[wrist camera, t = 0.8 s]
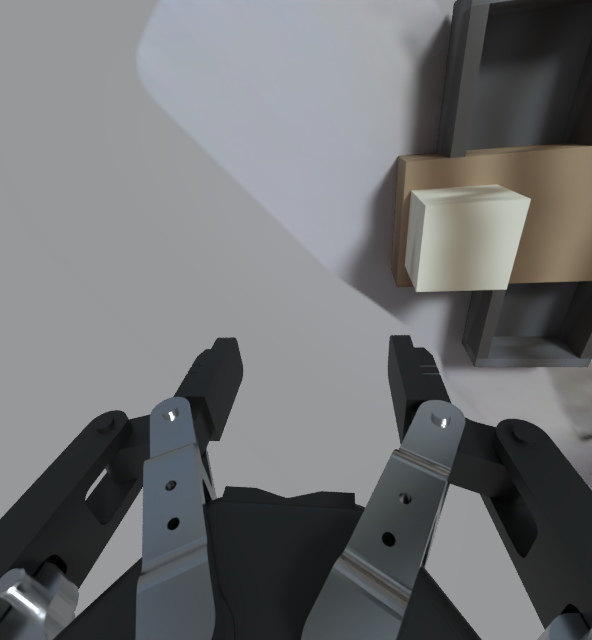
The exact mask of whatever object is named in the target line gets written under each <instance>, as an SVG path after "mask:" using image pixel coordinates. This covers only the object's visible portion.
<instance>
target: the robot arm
mask: <svg viewBox="0 0 592 640" xmlns="http://www.w3.org/2000/svg"><path fill="white" fill-rule="evenodd" d="M242 377H243V364H242V360H241V356H240V351H239V347H238V343H237V340H236V338H217V339H216V341H215V343H214V345H213V347H212V348H211V349H206V350H205V351H204V352H203V353H201V354H200V355H199V356H198V357H197V358H196V360H195V361H194V363H193V365H192V367H191V368H190V370H189V371H188V374H187V375H186V376H185V378H184V380H183V382H182V383H181V385H180V387H179V388H178V390H177V392H176V393H175V395H174V397H172V398H169V399H166V400H164V401H162V402H161V403H159V404H158V405H157V406H156V407H155V408H154V409H153V410H152V412H151V414H150V415H146V416H142V417H138V418H134V419H130V420H129V419H128V417H127V416H126V414H125V413H124V412H122V411H117V410H116V411H109V412H106V413H104V414H101V415H100V416H98V417H96V418H95V419H94V420H92V421H91V422H90V423H89V424H88V425H87V426H86V427H85V429H84V430H83V431H82V432H81V433H80V434H79V435H78V436H77V437H76V438H75V439H74V440H73V441H72V442H71V444H70V445H69V446H68V447H67V448H66V449H65V450H64V451H63V452H62V453H61V455H59V457H58V458H57V459H56V460H55V461H54V462H53V463H52V464H51V465H50V466H49V467H48V468H47V470H46V471H45V472H44V473H43V474H42V475H41V476H40V477H39V478H38V479H37V480H36V481H35V483H34V484H33V485H32V486H31V487H30V488H29V489H28V490H27V491H26V492H25V493H24V494H23V495H22V496H21V498H20V499H19V500H18V501H17V502H16V503H15V504H14V505H13V506H12V507H11V508H10V509H9V511H8V512H7V513H6V514H5V515H4V516H3V517H2V518H1V519H0V640H481V638H480V637H479V636H478V635H477V633H476V632H475V631H474V629H473V628H472V627H471V626H470V624H469V623H468V622H467V621H466V619H465V618H464V617H463V616H462V614H461V613H460V612H459V611H458V609H457V608H456V607H455V606H454V605H453V603H452V602H451V601H450V599H449V598H448V597H447V596H446V594H445V593H444V592H443V591H442V589H441V588H440V587H439V585H438V584H437V583H436V582H435V580H434V579H433V578H432V577H431V576H430V574H429V573H428V572H427V571H426V569H425V566H426V562H427V560H428V556H429V553H430V549H431V546H432V542H433V539H434V535H435V532H436V528H437V525H438V521H439V518H440V515H441V511H442V508H443V505H444V501H445V498H446V495H447V491H448V488H449V485H450V484H453V485H456V486H459V487H462V488H465V489H468V490H471V491H474V492H477V493H480V495H481V497H482V499H483V501H484V504H485V505H486V508H487V510H488V512H489V514H490V516H491V518H492V520H493V522H494V524H495V526H496V529H497V531H498V533H499V535H500V537H501V539H502V541H503V543H504V545H505V547H506V549H507V552H508V554H509V556H510V558H511V560H512V562H513V564H514V566H515V568H516V570H517V573H518V575H519V577H520V579H521V581H522V583H523V585H524V587H525V589H526V591H527V593H528V595H529V598H530V600H531V602H532V604H533V606H534V608H535V610H536V612H537V614H538V616H539V619H540V621H541V623H542V625H543V627H544V629H545V631H544V632H543V633H542V634H541V636H540V637H539V638H538V640H592V491H591V489H590V488H589V487H588V485H587V484H586V483H585V482H584V480H583V479H582V478H581V477H580V475H579V474H578V473H577V471H576V470H575V469H574V468H573V466H572V465H571V464H570V463H569V461H568V460H567V459H566V457H565V456H564V455H563V454H562V452H561V451H560V450H559V448H558V447H557V446H556V445H555V443H554V442H553V441H552V440H551V438H550V437H549V436H548V435H547V434H546V433H545V432H544V431H543V430H542V429H540V428H539V427H538V426H536V425H534V424H532V423H530V422H527V421H524V420H520V419H506V420H503V421H501V422H500V423H499V424H498V425H497V427H493V426H489V425H485V424H481V423H477V422H474V421H472V420H469V419H467V418H465V417H464V415H463V413H462V412H461V411H460V410H459V409H458V408H457V407H456V406H454V405H452V404H451V401H450V399H449V396H448V394H447V391H446V389H445V386H444V383H443V381H442V378H441V376H440V375H439V371H438V368H437V367H436V363H435V360H434V358H433V355H431V354H430V353H429V352H428V351H427V350H426V349H425V348H414V347H413V344H412V341H411V337H410V336H409V335H394V336H393V335H392V336H390V341H389V356H388V379H389V385H390V390H391V395H392V400H393V406H394V411H395V416H396V422H397V427H398V432H399V438H400V443H401V446H400V448H399V450H397V449H395V450H394V451H393V453H392V454H391V456H390V459H389V460H388V462H387V465H386V467H385V469H384V471H383V473H382V475H381V477H380V479H379V481H378V483H377V485H376V487H375V489H374V491H373V493H372V495H371V498H370V500H369V501H368V503H367V506H366V508H365V507H363V506H360V505H357V504H355V494H354V493H342V492H323V491H321V492H316V493H311V494H307V495H301V496H296V497H292V498H285V497H281V496H278V495H276V494H272V493H270V492H267V491H264V490H261V489H258V488H247V487H229V486H226V487H225V491H224V494H223V497H220V498H217V497H216V493H215V488H214V483H213V478H212V472H211V467H210V462H209V457H208V452H207V449H206V448H207V445H208V443H209V441H220V438H221V435H222V433H223V430H224V427H225V425H226V422H227V419H228V416H229V413H230V411H231V408H232V405H233V403H234V400H235V397H236V395H237V392H238V389H239V386H240V384H241V381H242ZM104 469H106V470H107V473H106V474H105V476H104V477H103V478H102V480H101V481H100V482H99V484H98V485H97V486H96V488H95V489H94V490H93V492H92V493H91V494H90V496H89V497H88V498H87V500H86V501H85V497H86V494H87V492H88V490H89V488H90V487H91V485H92V484H93V483H94V482H95V480H96V479H97V478H98V476H99V475H100V474H101V472H102V471H103V470H104ZM142 487H143V538H142V540H143V542H142V557H141V558H140V559H139V560H138V561H137V562H136V563H135V564H134V565H133V566H132V567H131V568H130V569H128V570H127V571H126V572H125V573H124V574H123V575H122V576H121V577H120V578H119V579H118V580H117V581H115V582H114V583H113V584H112V585H111V586H110V587H109V588H108V589H107V590H106V591H104V592H103V593H102V594H101V595H100V596H99V597H98V598H97V599H96V600H95V601H94V602H93V603H91V604H90V605H89V606H88V607H87V608H86V609H85V610H84V611H83V612H82V613H81V614H79V615H78V616H77V617H76V618H75V613H74V611H75V609H76V606H77V603H78V597H79V592H78V589H79V588H80V586H81V584H82V583H83V581H84V580H85V578H86V576H87V575H88V573H89V572H90V570H91V568H92V567H93V565H94V564H95V562H96V560H97V559H98V557H99V555H100V554H101V552H102V551H103V549H104V548H105V546H106V544H107V543H108V541H109V540H110V538H111V537H112V535H113V533H114V532H115V530H116V529H117V527H118V525H119V524H120V522H121V521H122V519H123V517H124V516H125V514H126V513H127V511H128V509H129V508H130V506H131V505H132V503H133V502H134V500H135V498H136V497H137V495H138V493H139V492H140V490H141V489H142Z"/></svg>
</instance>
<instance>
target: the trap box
mask: <svg viewBox="0 0 592 640" xmlns="http://www.w3.org/2000/svg"><path fill="white" fill-rule="evenodd" d="M495 184H498V185H500V186H502V187H504V188H507V189H509V190H511V191H514V192H516V193H518V194H521V195H523V196H525V197H528V198H530V199H531V201H530V205H529V208H528V212H527V216H526V220H525V223H524V227H523V231H522V234H521V238H520V242H519V246H518V249H517V253H516V257H515V260H514V264H513V268H512V272H511V275H510V279H509V283H508V286H507V289H506V290H473V292H472V297H471V302H470V306H469V311H468V316H467V321H466V326H465V330H464V335H463V340H462V344H463V346H464V348H465V350H466V352H467V354H468V355H469V357H470V359H471V361H472V363H473V365H474V367H588V366H589V364H590V362H591V359H592V0H457V1H456V2H455V3H454V7H453V16H452V24H451V33H450V41H449V50H448V58H447V67H446V76H445V84H444V93H443V101H442V110H441V118H440V127H439V135H438V144H437V152H436V153H430V154H418V155H407V156H398V167H397V183H396V199H395V215H394V230H393V246H392V262H391V270H392V273H393V276H394V279H395V283H396V286H397V287H409V286H413V284H412V281H411V279H410V277H409V274H408V272H407V270H406V267H405V256H406V244H407V232H408V221H409V209H410V198H411V191H412V190H426V189H440V188H454V187H467V186H481V185H495Z"/></svg>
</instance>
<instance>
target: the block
mask: <svg viewBox="0 0 592 640" xmlns="http://www.w3.org/2000/svg"><path fill="white" fill-rule="evenodd" d="M530 201H531V199H530V198H528V197H525V196H523V195H521V194H518V193H516V192H514V191H511V190H509V189H507V188H504V187H502V186H500V185H498V184H495V185H481V186H467V187H454V188H440V189H426V190H412V191H411V198H410V209H409V221H408V232H407V244H406V256H405V267H406V270H407V272H408V274H409V277H410V279H411V281H412V284H413V286H414V288H415V291H416V292H436V291H471V290H506V289H507V286H508V283H509V279H510V275H511V272H512V268H513V264H514V260H515V257H516V253H517V249H518V246H519V242H520V238H521V234H522V231H523V227H524V223H525V220H526V216H527V212H528V208H529V205H530Z"/></svg>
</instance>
